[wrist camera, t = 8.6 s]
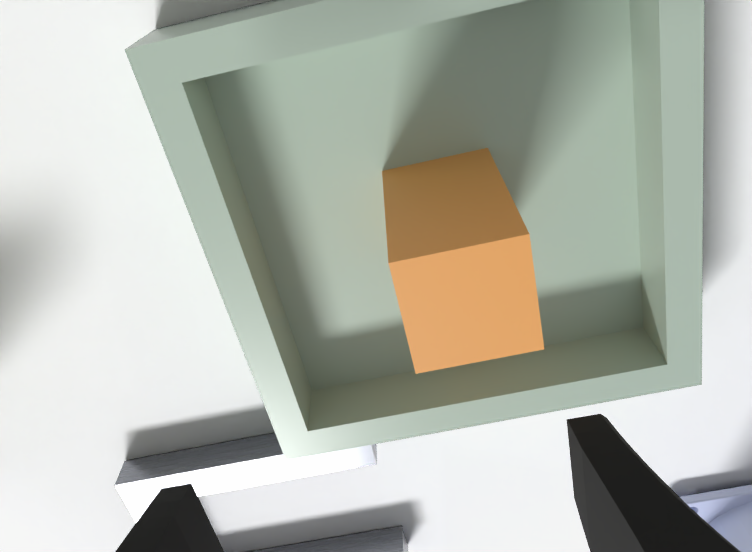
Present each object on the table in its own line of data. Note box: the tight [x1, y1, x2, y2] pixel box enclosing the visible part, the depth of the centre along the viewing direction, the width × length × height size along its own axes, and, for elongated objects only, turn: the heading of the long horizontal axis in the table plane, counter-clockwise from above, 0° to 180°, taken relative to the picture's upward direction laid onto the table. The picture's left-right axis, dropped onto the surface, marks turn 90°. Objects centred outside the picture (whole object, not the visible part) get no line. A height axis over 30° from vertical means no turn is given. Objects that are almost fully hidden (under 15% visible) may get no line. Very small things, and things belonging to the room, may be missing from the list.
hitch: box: [115, 433, 408, 552], centre depth 26 cm, size 9×7×1 cm
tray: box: [125, 0, 704, 460], centre depth 19 cm, size 13×13×3 cm
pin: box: [382, 148, 544, 374], centre depth 18 cm, size 3×3×6 cm
